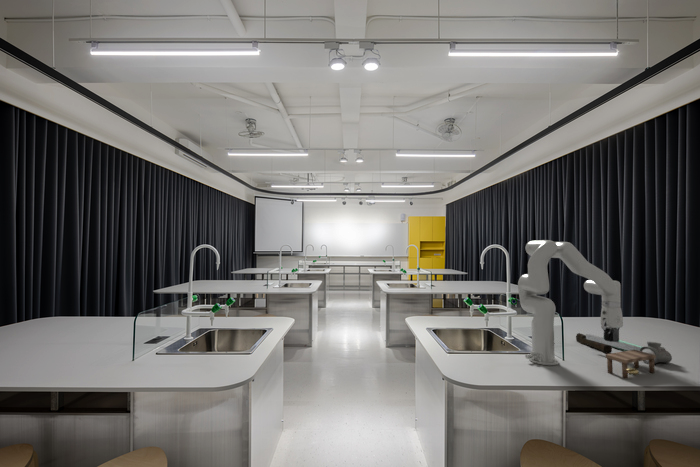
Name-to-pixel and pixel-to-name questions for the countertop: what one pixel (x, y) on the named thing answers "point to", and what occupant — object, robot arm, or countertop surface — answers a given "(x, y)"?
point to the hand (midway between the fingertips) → (611, 340)
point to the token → (632, 371)
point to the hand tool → (593, 343)
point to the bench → (630, 360)
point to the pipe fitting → (657, 352)
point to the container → (626, 343)
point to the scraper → (614, 340)
